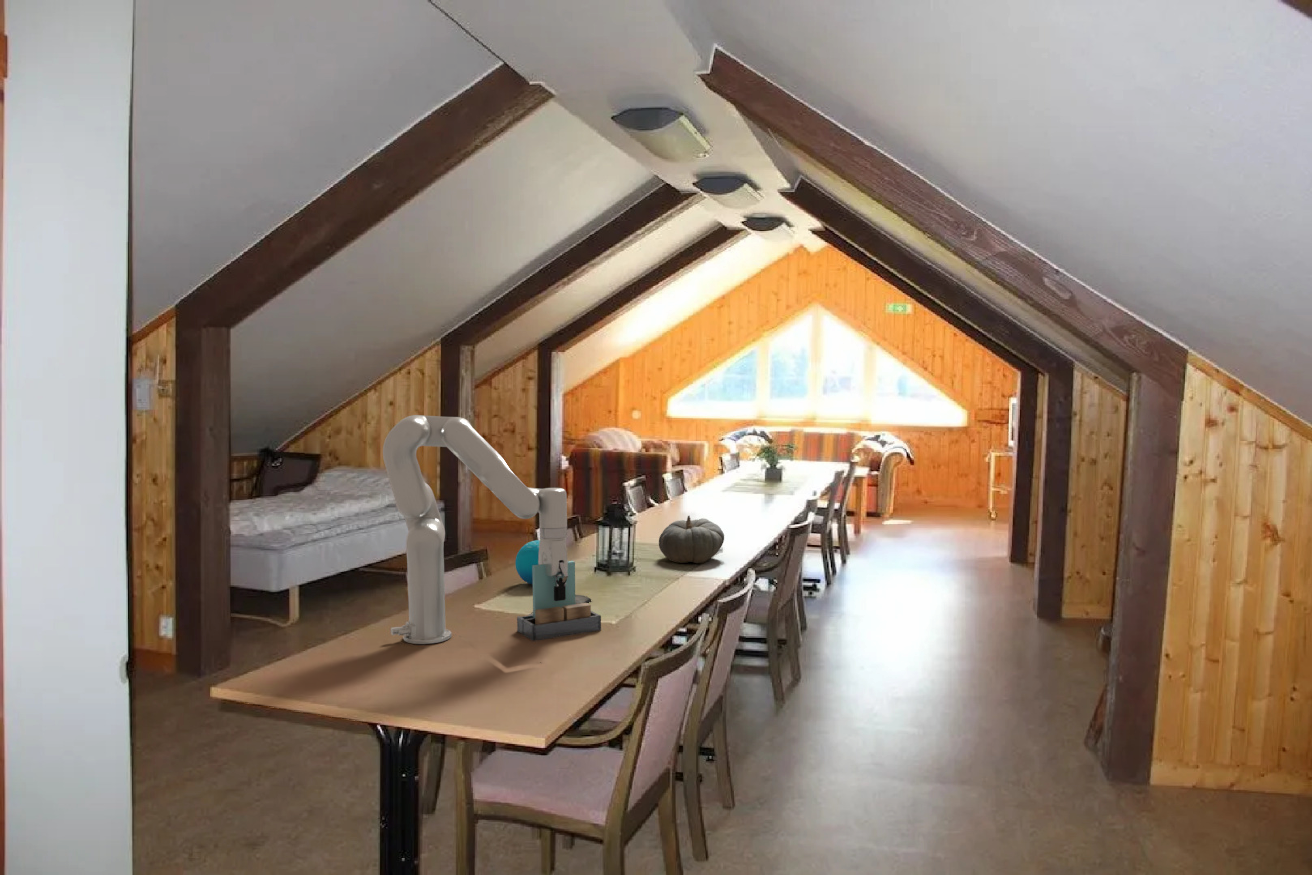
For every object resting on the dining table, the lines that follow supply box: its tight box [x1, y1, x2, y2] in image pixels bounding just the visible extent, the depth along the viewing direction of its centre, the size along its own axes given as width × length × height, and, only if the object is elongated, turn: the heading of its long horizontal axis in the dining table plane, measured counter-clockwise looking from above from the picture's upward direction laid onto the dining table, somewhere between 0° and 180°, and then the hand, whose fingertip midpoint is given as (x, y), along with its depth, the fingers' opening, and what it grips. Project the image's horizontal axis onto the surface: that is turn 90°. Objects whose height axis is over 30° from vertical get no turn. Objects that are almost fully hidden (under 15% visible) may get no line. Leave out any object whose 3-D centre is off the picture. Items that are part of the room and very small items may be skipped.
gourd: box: [658, 515, 725, 564], centre depth 357 cm, size 25×25×17 cm
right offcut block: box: [563, 603, 592, 620], centre depth 256 cm, size 7×3×7 cm, turn 120°
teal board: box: [532, 560, 576, 618], centre depth 259 cm, size 12×2×18 cm, turn 120°
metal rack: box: [516, 610, 602, 642], centre depth 257 cm, size 20×11×5 cm, turn 120°
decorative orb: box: [515, 539, 540, 586], centre depth 317 cm, size 15×15×15 cm
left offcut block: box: [535, 607, 564, 625], centre depth 252 cm, size 7×3×7 cm, turn 120°
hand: (554, 596), depth 259 cm, fingers open, 6 cm apart
